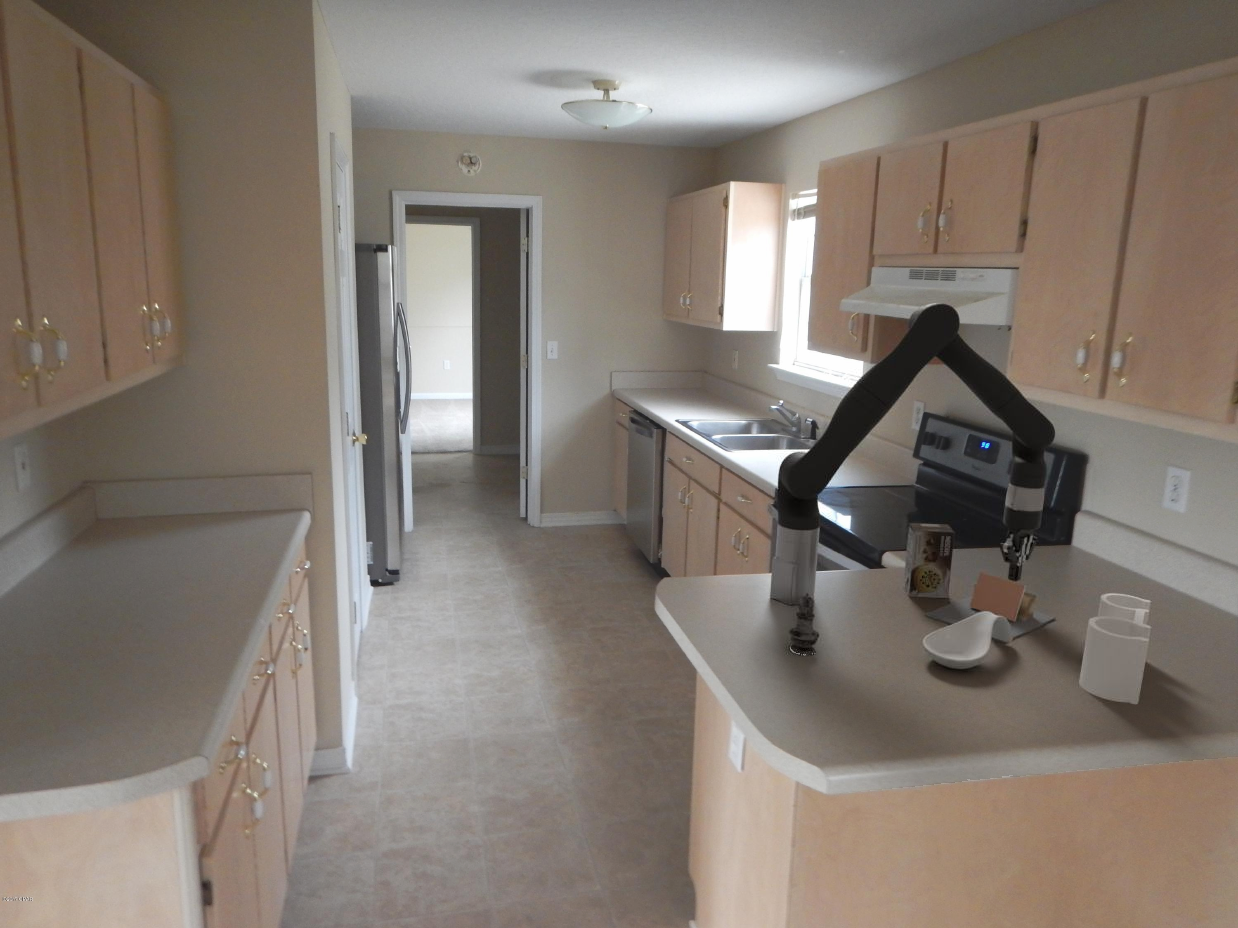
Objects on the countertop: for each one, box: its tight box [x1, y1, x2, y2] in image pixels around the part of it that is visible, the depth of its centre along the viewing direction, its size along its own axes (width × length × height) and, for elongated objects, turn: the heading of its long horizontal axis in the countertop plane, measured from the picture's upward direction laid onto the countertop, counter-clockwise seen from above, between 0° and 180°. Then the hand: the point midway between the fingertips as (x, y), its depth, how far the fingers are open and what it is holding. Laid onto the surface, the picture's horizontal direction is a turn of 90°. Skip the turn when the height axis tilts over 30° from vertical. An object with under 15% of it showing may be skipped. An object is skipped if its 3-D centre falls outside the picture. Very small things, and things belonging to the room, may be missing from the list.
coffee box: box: [902, 522, 955, 599], centre depth 206 cm, size 9×6×16 cm
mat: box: [924, 595, 1056, 644], centre depth 194 cm, size 22×18×1 cm
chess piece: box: [788, 593, 820, 656], centre depth 173 cm, size 6×6×12 cm
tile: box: [969, 572, 1027, 622], centre depth 194 cm, size 4×10×8 cm, turn 39°
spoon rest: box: [922, 611, 1013, 670], centre depth 173 cm, size 24×12×7 cm, turn 130°
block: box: [973, 582, 1037, 621], centre depth 196 cm, size 4×12×5 cm, turn 39°
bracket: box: [1078, 592, 1152, 705], centre depth 167 cm, size 25×10×12 cm, turn 147°
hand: (1013, 579), depth 198 cm, fingers closed
